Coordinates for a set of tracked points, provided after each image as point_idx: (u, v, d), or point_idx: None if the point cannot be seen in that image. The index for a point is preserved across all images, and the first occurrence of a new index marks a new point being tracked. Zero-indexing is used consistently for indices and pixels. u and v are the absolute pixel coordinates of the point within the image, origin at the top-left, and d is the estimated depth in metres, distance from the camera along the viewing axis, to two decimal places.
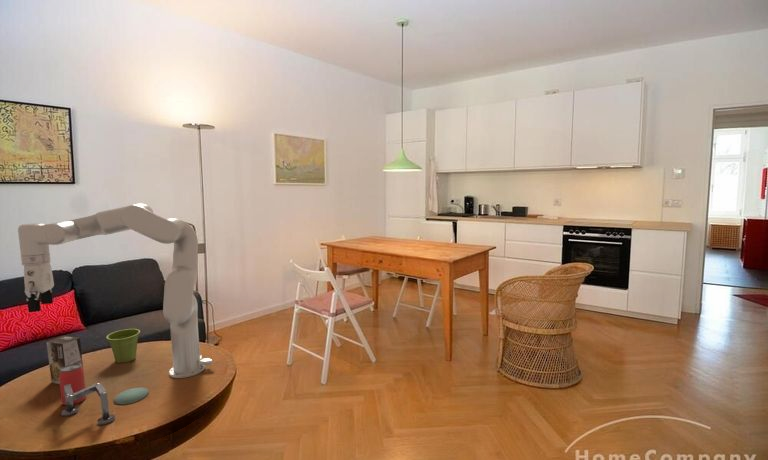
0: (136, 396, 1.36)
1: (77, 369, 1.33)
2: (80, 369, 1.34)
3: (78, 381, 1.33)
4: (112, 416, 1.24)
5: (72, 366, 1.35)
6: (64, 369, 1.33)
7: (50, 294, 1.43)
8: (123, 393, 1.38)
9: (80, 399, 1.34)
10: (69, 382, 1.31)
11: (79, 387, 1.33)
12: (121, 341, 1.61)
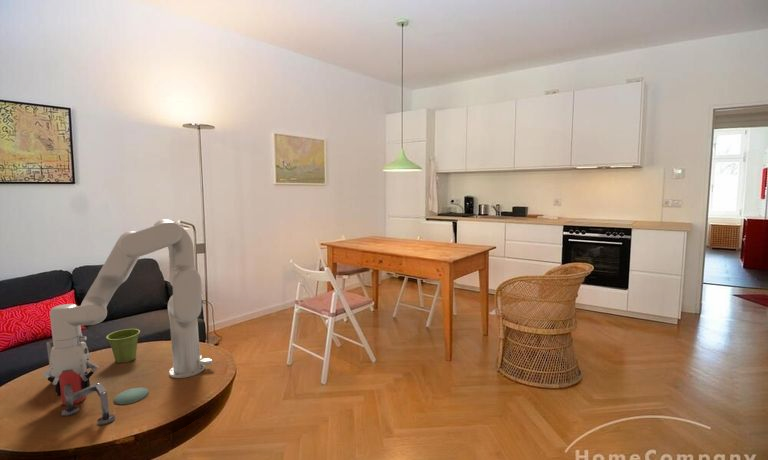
0: (136, 396, 1.36)
1: None
2: None
3: (78, 381, 1.33)
4: (112, 416, 1.24)
5: None
6: None
7: None
8: (123, 393, 1.38)
9: (80, 399, 1.34)
10: (69, 382, 1.31)
11: (79, 387, 1.33)
12: (121, 340, 1.61)
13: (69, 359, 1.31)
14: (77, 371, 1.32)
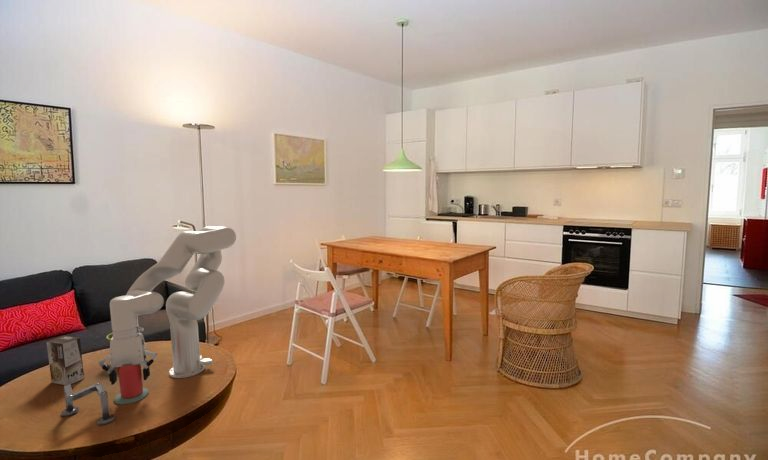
0: None
1: None
2: None
3: (137, 375, 1.35)
4: (112, 416, 1.24)
5: None
6: None
7: (115, 371, 1.36)
8: None
9: (138, 393, 1.36)
10: (129, 376, 1.33)
11: (138, 381, 1.36)
12: None
13: (128, 350, 1.33)
14: (135, 362, 1.34)
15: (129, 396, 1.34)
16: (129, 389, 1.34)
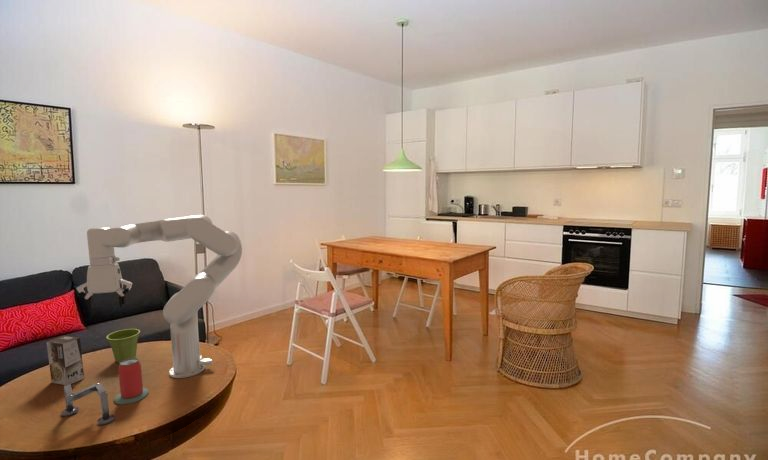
0: None
1: (136, 363, 1.35)
2: (138, 363, 1.36)
3: (137, 375, 1.35)
4: (112, 416, 1.24)
5: (130, 360, 1.37)
6: (123, 363, 1.35)
7: (93, 298, 1.45)
8: None
9: (138, 393, 1.36)
10: (129, 376, 1.33)
11: (138, 381, 1.36)
12: (121, 341, 1.61)
13: (104, 277, 1.42)
14: (111, 288, 1.43)
15: (129, 396, 1.34)
16: (129, 389, 1.34)
